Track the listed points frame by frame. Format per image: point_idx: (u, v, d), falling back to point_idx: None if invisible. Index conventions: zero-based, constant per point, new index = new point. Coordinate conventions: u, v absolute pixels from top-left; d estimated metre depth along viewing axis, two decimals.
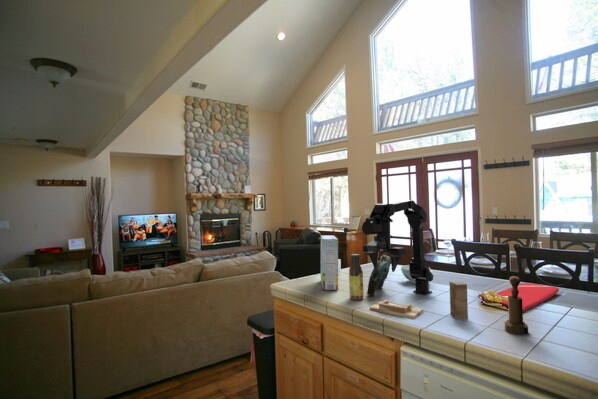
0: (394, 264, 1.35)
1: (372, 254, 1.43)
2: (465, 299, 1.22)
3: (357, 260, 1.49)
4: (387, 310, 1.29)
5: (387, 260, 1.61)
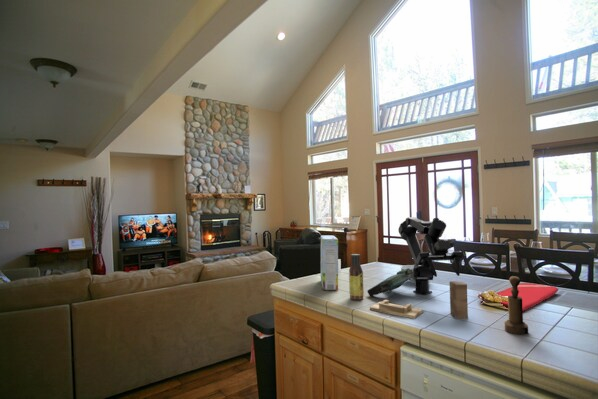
0: None
1: None
2: (465, 299, 1.22)
3: (357, 260, 1.49)
4: (387, 310, 1.29)
5: (407, 277, 1.54)
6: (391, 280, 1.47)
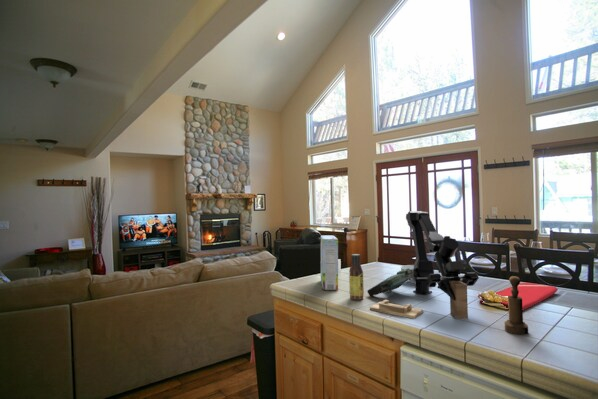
0: None
1: None
2: (465, 299, 1.22)
3: (357, 260, 1.48)
4: (387, 310, 1.29)
5: (407, 277, 1.54)
6: (391, 280, 1.47)
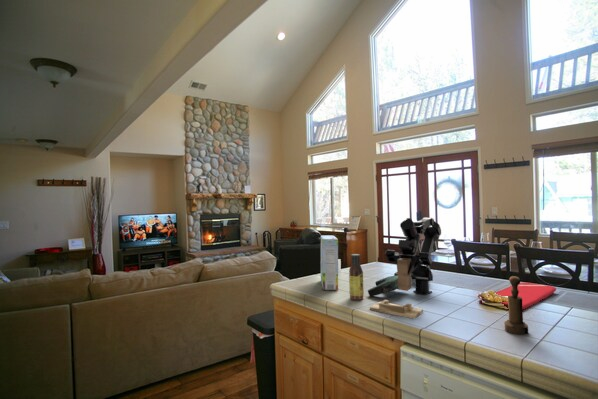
0: (412, 267, 1.37)
1: None
2: (405, 273, 1.36)
3: (357, 260, 1.48)
4: (387, 310, 1.29)
5: None
6: (394, 282, 1.48)
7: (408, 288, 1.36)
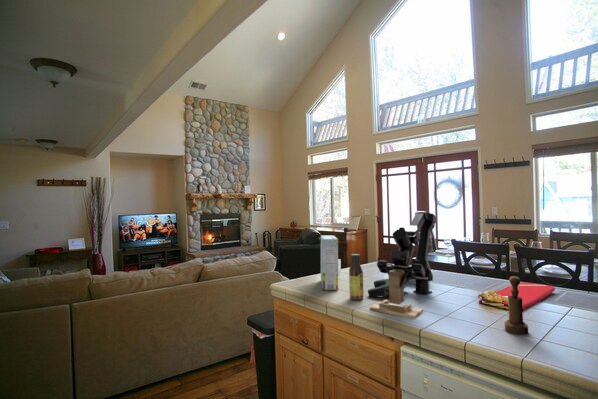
0: (404, 279, 1.31)
1: None
2: (397, 286, 1.30)
3: (357, 260, 1.49)
4: (387, 310, 1.29)
5: (406, 284, 1.57)
6: None
7: (400, 301, 1.30)
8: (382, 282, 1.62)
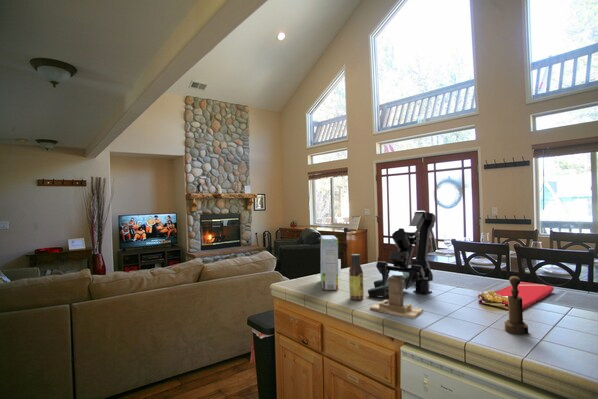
0: (410, 281, 1.29)
1: (385, 271, 1.37)
2: (396, 292, 1.29)
3: (357, 260, 1.49)
4: (387, 310, 1.29)
5: None
6: None
7: None
8: (382, 282, 1.62)
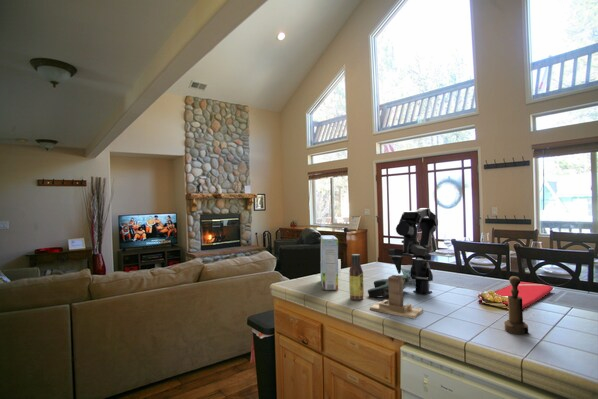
0: None
1: None
2: (396, 292, 1.29)
3: (357, 260, 1.48)
4: (387, 310, 1.29)
5: (406, 284, 1.57)
6: None
7: None
8: (382, 282, 1.62)
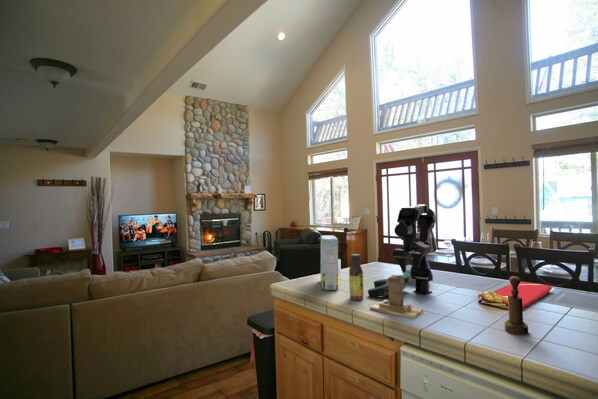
0: None
1: None
2: (396, 292, 1.29)
3: (357, 260, 1.48)
4: (387, 310, 1.29)
5: (406, 284, 1.57)
6: None
7: None
8: (382, 282, 1.62)
